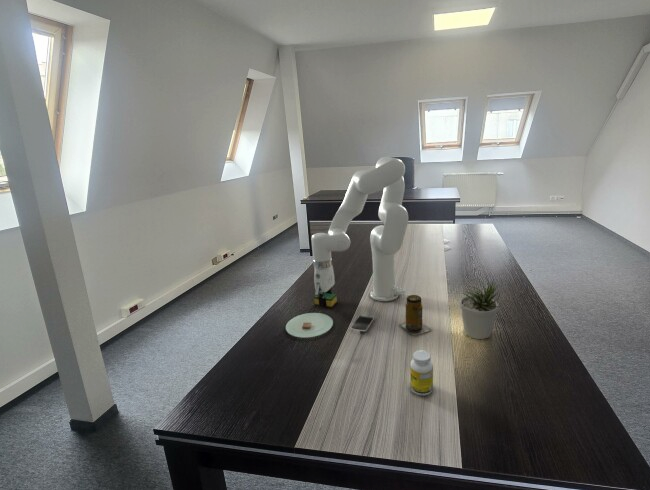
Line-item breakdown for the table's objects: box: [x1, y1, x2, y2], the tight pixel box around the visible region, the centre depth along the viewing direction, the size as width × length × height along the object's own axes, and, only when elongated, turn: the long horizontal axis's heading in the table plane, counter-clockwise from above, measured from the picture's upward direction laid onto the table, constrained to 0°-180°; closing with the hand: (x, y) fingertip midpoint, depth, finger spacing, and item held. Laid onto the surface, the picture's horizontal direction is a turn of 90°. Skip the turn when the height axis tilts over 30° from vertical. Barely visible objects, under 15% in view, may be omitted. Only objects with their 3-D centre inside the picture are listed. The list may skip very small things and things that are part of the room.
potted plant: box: [459, 281, 501, 340], centre depth 124 cm, size 13×14×20 cm
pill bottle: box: [409, 349, 434, 396], centre depth 100 cm, size 6×6×11 cm
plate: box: [285, 312, 334, 338], centre depth 137 cm, size 18×18×1 cm
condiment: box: [400, 294, 431, 337], centre depth 131 cm, size 7×8×12 cm
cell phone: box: [350, 315, 375, 334], centre depth 136 cm, size 6×11×1 cm, turn 158°
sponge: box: [313, 292, 338, 307], centre depth 153 cm, size 8×5×4 cm, turn 68°
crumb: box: [302, 323, 311, 329], centre depth 135 cm, size 3×3×1 cm
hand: (325, 302), depth 154 cm, fingers closed on sponge, 5 cm apart
